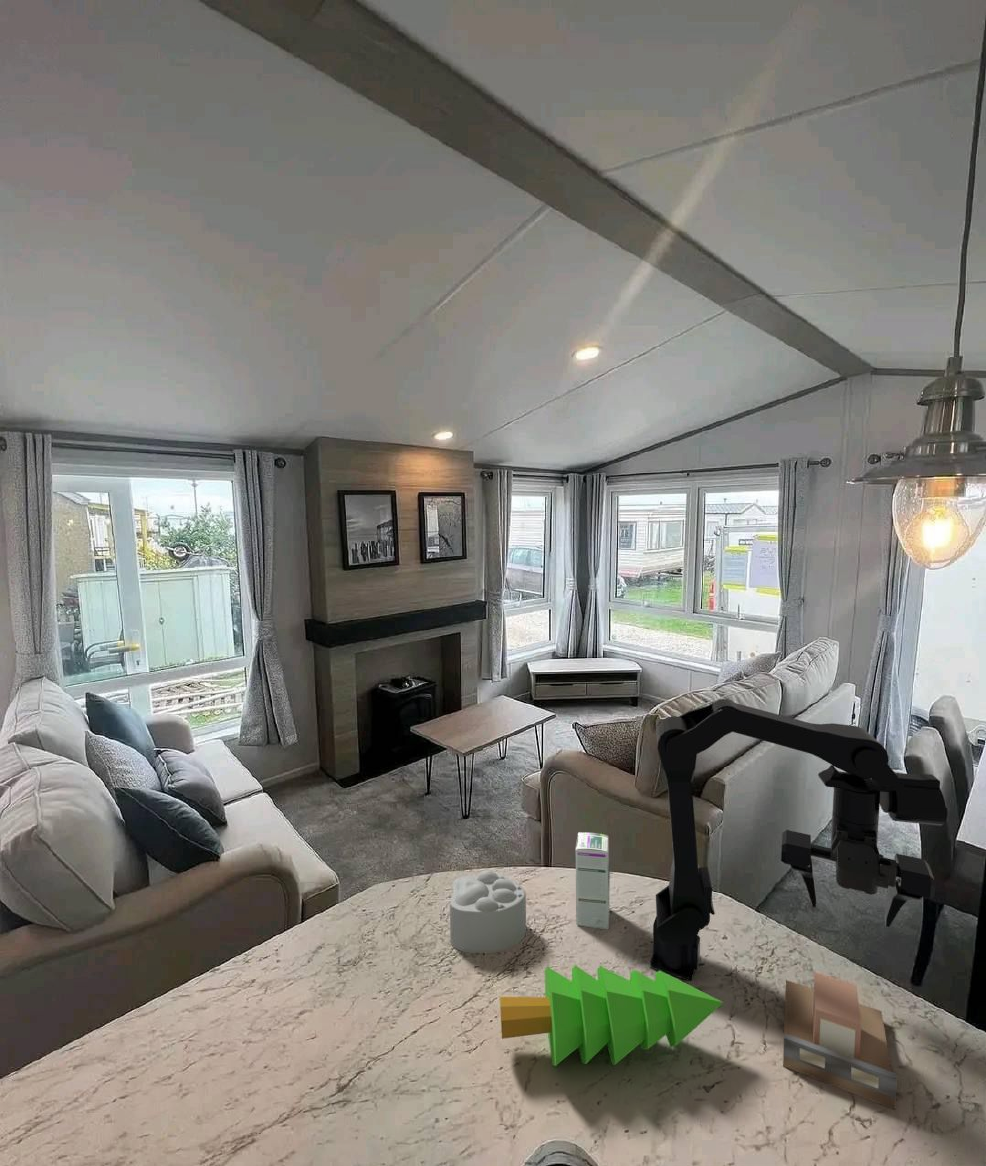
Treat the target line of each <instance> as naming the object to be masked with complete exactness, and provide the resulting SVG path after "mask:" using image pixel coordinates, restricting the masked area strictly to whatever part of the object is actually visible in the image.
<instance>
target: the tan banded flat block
mask: <svg viewBox="0 0 986 1166" xmlns="http://www.w3.org/2000/svg"><path fill="white" fill-rule="evenodd" d="M813 990H814V988H812V987H808V986H805V985H803V984H799V983H796V982H794V981H790V980H788V979H786V980H785V993H784V994H785V997H784V1023H783V1027H784V1028H783V1029H784V1031H783V1033H784V1034H783V1055H782V1057H783V1058H782V1066H783V1067H785V1068H788V1069H790V1070H792V1071H795V1072H797V1073H799V1074H802V1075H805V1076H807V1077H811V1078H813V1079H815V1080H818V1081H820V1082H823V1083H826V1084H829V1085H831V1086H833V1087H836V1088H837V1089H841V1090H843V1091H846V1092H848V1093H851V1094H854V1095H856V1096H859V1097H861V1098H864V1099H867V1100H870V1101H872V1102H874V1103H877V1104H880V1105H883V1106H884V1107H887V1108H890V1109H892V1110H896V1100H897V1083H898V1077H897V1073H895V1072H893V1071H892V1068H891V1061H890V1055H889V1050H888V1043H887V1037H886V1036H887V1035H886V1029H885V1025H884V1018H883V1014H882V1013H883V1011H882V1010H879V1009H877V1008H873V1007H870V1006H867V1005H864V1004H862V1003H859V1010H860V1018H861V1038H860V1056H859V1060H857V1059H854V1058H852V1057H849V1056H846V1055H843V1054H841V1053H838V1052H835V1051H832V1050H830V1049H827V1048H824V1047H821V1046H819V1045H816V1044H813V1013H812V1010H813Z"/></svg>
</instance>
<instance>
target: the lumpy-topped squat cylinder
mask: <svg viewBox="0 0 986 1166" xmlns="http://www.w3.org/2000/svg"><path fill="white" fill-rule="evenodd" d="M451 893H452V894H451V897H450V900H449V932H450V933H449V934H450V935H449V938H450V939H449V942H450V945H451V946H452V948H454V949H455V950H458V951H460V952H465V953H480V954H484V953H485V954H487V953H489V954H491V953H492V954H493V953H499V952H503V951H506V950H508V949H511V948H512V947H514V946H516V945H518V944H519V943H520V942H522V940H523V939H524V938H525V936H526V933H527V905H526V904H527V894H526V890H525V889H524V887H523V886H522V885H521V884H520V883H518V882H517V881H515V880H513V879H511V878H509V877H505V876H502V875H498V874H497V873H495V872H494V871H493V870H486V869H485V870H482V871H481V872H479V873H478V874H469V875H468V874H467V875H463V876H460V877H458V878H457V879H456V878H455V880H454V881H453V883H452V885H451Z"/></svg>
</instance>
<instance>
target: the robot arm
mask: <svg viewBox="0 0 986 1166" xmlns="http://www.w3.org/2000/svg"><path fill="white" fill-rule="evenodd" d="M655 733H656V745H657V752H658V756H659V760H660V763H661V767H662V770H663V773H664V777H665V779H666V783H667V792H668V805H669V806H668V807H669V818H670V819H669V820H670V830H671V840H672V841H671V843H672V854H673V856H672V863H671V867H670V874H669V882H668V885H667V886H666V887H664V888H663V889H662V890H661V889H660V891H659V892H658V893H656V894H655V910H656V912H655V913H656V916H655V918H654V920H653V925H652V927H653V928H652V956H651V958H650V961H649V967H650V968H653V969H655V970H658V971H662V972H664V973H666V974H668V975H671V976H675V977H678V978H681V979H683V980H686V981H693V978H694V975H695V974H694V973H695V971H697V970H698V969H699V964H700V959H701V958H700V957H701V937H700V936H699V935H698V934H699V932H700V931H701V930H703V929H705V928H706V927H708V926H709V924H710V920H711V915H714V916H715V914H716V912H715V908H714V904H713V885H712V881H711V875H710V871H709V867H708V866H702V867H701V866H700V864H699V861H698V849H697V835H696V834H697V833H696V822H695V807H694V796H693V780H694V776H695V772H696V767H697V766H696V763H697V755H698V754H700V753H703V752H704V751H706V750H708V749H710V748H711V747H712V746H713V745H714V744H716V743H717V742H718V741H719V740H721V739H722V738H723V737H725V736H727V735H729V734H731V733H735V734H739V735H743V736H746V737H749V738H753V739H757V740H760V741H764V742H767V743H770V744H774V745H777V746H780V747H781V746H782V747H785V748H789V749H791V750H795V751H799V752H803V753H805V754H810V755H812V756H815V757H816V758H817V757H818V758H819V759H821V760H823V761H825V762H827V764H830V765H829V766H828V768H826V769H823V770H822V771H820V772H819V773H818V774H817V776H818V778H819V779H820V780H821V782H822V783H823V785H824V786H825V787H826V788H833V794H832V795H833V796H832V797H833V798H832V814H831V833H830V847H828V846H827V847H826V846H821V845H817V844H812V839H811V838H812V836H811V834H807V833H802V832H799V831H793V830H789V829H786V830H785V831H783V832H782V834H781V853H780V855H781V856H780V861H781V862H782V863H783V864H785V865H789V866H790V869H792V870H793V871H797V872H798V873H799V874H800V875H801V877H802V879H803V882H804V884H805V886H806V889H807V892H808V893H807V894H808V896H809V900H810V902H811V905H812V908H815V909H816V907H817V890H816V881H815V870H814V860H813V859H815V860H818V861H823V862H827V863H832V864H835V881H836V883H837V885H838V886H839V887H841V888H843V889H848V890H849V889H851V890H856V891H859V892H862V893H863V892H864V893H865V894H867V895H876V894H877V893H878V889H879V888H882V889H888V891H887V896H886V903H885V909H884V925H885V928H890V927H891V926H892V924H893V922H894V920H895V918H896V917H897V915H898V913H899V912H900V911H901V909H902V907H903V906H905V904H906V903H908V902H909V901H911V900H917V901H922V899H923V898H927V899H933V898H935V893H936V880H935V877H934V875H933V871H932V869H931V867H930V864H929V863H928V862H927V861H926V860H925V859H924V858H918V857H915V856H909V855H906V854H905V855H904V854H901V853H895V854H894V859H892V858H886V857H884V855H883V854H880V850H879V848H878V838H879V837H878V836H879V835H878V834H879V821H880V809H881V810H882V812H883V813H884V814H888V816H889V818H890V819H891V820H892V821H894V822H900V823H902V822H903V823H913V824H922V825H930V826H940V827H941V826H943V825H945V823H946V821H947V818H948V808H947V805H946V802H945V801H946V800H945V797H944V794H943V792H942V789H941V781H940V779H938V778H937V777H936V776H935V775H933V774H930V773H920V774H919V773H918V774H914V773H902V772H901V773H900V772H895V770H893V769H892V768H891V767H890V765H889V753H888V751H887V749H885V746H883V744H881V742H879V741H878V740H877V739H876V738H875V737H874V736H873V735H871V733H869V732H868V731H867V730H865V729H864V728H863V727H860V726H857V725H852V724H850V725H849V724H841V723H840V724H839V723H822V724H821V723H811V722H807V721H805V720H804V721H803V720H799V719H797V718H793V717H788V716H786V715H785V716H784V715H782V714H777V713H773V712H771V711H767V710H763V709H759V708H755V707H752V706H748V705H745V704H744V705H743V704H740V703H737V702H735V701H733V700H730V699H729V698H728V699H727V698H721V699H718V700H716V701H713V702H712V703H710V704H708V705H706V706H701V707H699V708H695V709H690V710H689V711H686V712H684V713H682V714H681V715H678V716H673V715H672V716H667V717H665V718H664V719H662V720H661V721H660V722H659V723H657V725H656V730H655ZM838 769H839V770H838ZM840 770H842V771H840ZM878 887H879V888H878Z"/></svg>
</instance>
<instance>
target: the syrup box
mask: <svg viewBox="0 0 986 1166" xmlns="http://www.w3.org/2000/svg"><path fill="white" fill-rule="evenodd" d="M609 840H610V839H609V835H608V834H605V833H604V834H603V833H597V832H581V831H579V832H578V833H577V838H576V843H575V900H576V901H575V904H576V905H575V906H576V907H575V908H576V909H575V911H576V912H575V913H576V917H575V918H576V919H575V921H576V925H577V926H581V927H586V928H594V929H600V930H601V929H603V930H609V926H610V884H611V883H610V882H611V881H610V876H611V875H610V848H609V847H610V841H609Z"/></svg>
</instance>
